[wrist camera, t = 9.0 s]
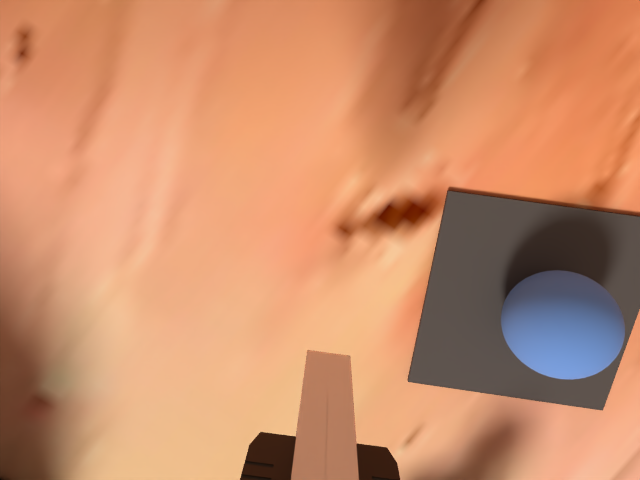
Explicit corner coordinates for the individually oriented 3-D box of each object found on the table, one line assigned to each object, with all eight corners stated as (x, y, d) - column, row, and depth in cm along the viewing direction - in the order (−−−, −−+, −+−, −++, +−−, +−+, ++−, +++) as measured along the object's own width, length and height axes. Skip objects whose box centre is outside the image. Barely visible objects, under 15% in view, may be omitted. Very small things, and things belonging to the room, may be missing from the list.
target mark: (407, 379, 26) (408, 381, 26) (447, 190, 23) (448, 191, 22) (600, 408, 25) (602, 410, 25) (668, 220, 22) (671, 221, 22)
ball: (547, 340, 25) (470, 343, 24) (573, 256, 24) (492, 254, 22) (631, 399, 20) (540, 408, 19) (671, 298, 19) (576, 298, 17)
